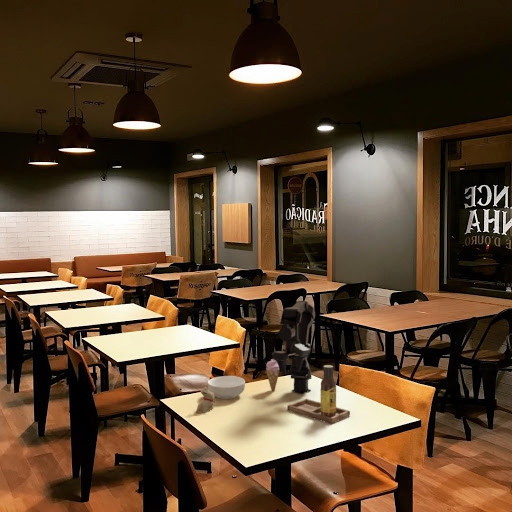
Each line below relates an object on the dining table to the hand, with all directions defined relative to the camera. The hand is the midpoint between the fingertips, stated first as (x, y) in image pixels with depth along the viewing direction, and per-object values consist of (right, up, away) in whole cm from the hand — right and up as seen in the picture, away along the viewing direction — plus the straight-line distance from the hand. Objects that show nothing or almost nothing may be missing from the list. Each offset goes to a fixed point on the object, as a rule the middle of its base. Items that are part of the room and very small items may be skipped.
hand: (291, 373), depth 244 cm
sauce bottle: (+14, -13, -17) cm, 26 cm away
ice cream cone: (-7, -12, +18) cm, 22 cm away
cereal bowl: (-28, -13, +11) cm, 33 cm away
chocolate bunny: (-36, -14, -7) cm, 40 cm away
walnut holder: (+10, -14, -13) cm, 21 cm away
